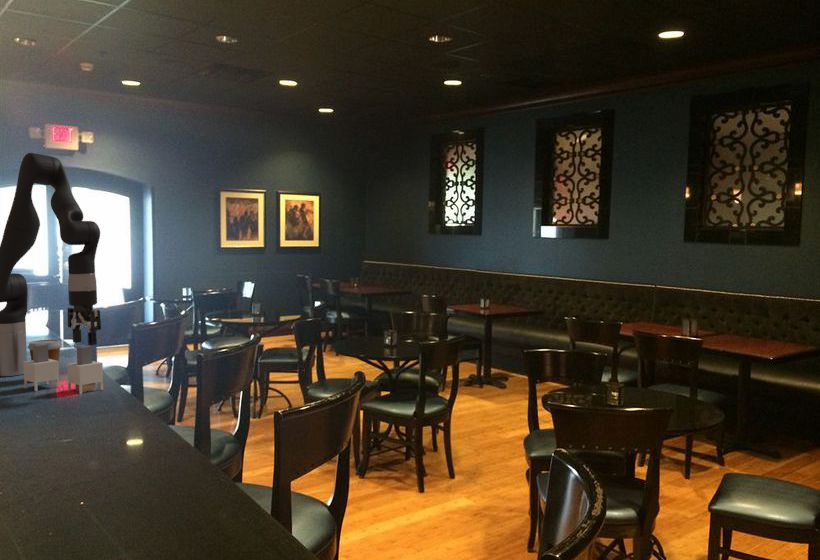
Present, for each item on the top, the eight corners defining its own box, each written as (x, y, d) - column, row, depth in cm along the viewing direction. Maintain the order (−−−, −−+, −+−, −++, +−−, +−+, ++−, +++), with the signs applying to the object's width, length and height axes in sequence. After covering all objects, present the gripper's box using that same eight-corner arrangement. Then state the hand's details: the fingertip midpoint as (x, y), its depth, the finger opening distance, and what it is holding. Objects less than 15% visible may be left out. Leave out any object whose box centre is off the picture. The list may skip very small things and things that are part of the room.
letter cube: (75, 390, 204) (75, 377, 203) (88, 388, 207) (88, 374, 206) (82, 392, 201) (82, 378, 201) (95, 390, 204) (95, 376, 204)
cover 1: (24, 388, 207) (22, 345, 206) (48, 384, 212) (46, 342, 211) (35, 391, 203) (33, 347, 202) (59, 387, 208) (57, 344, 207)
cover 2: (67, 390, 203) (66, 347, 202) (90, 386, 209) (89, 344, 208) (80, 393, 199) (78, 349, 198) (103, 389, 205) (101, 346, 204)
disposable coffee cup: (37, 383, 213) (36, 345, 213) (23, 379, 219) (22, 342, 218) (68, 378, 221) (66, 341, 220) (53, 374, 227) (52, 338, 226)
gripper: (57, 289, 203) (59, 343, 204) (82, 290, 195) (85, 347, 196) (82, 287, 209) (84, 340, 210) (107, 289, 201) (110, 344, 202)
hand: (84, 343), depth 203 cm, fingers open, 8 cm apart
